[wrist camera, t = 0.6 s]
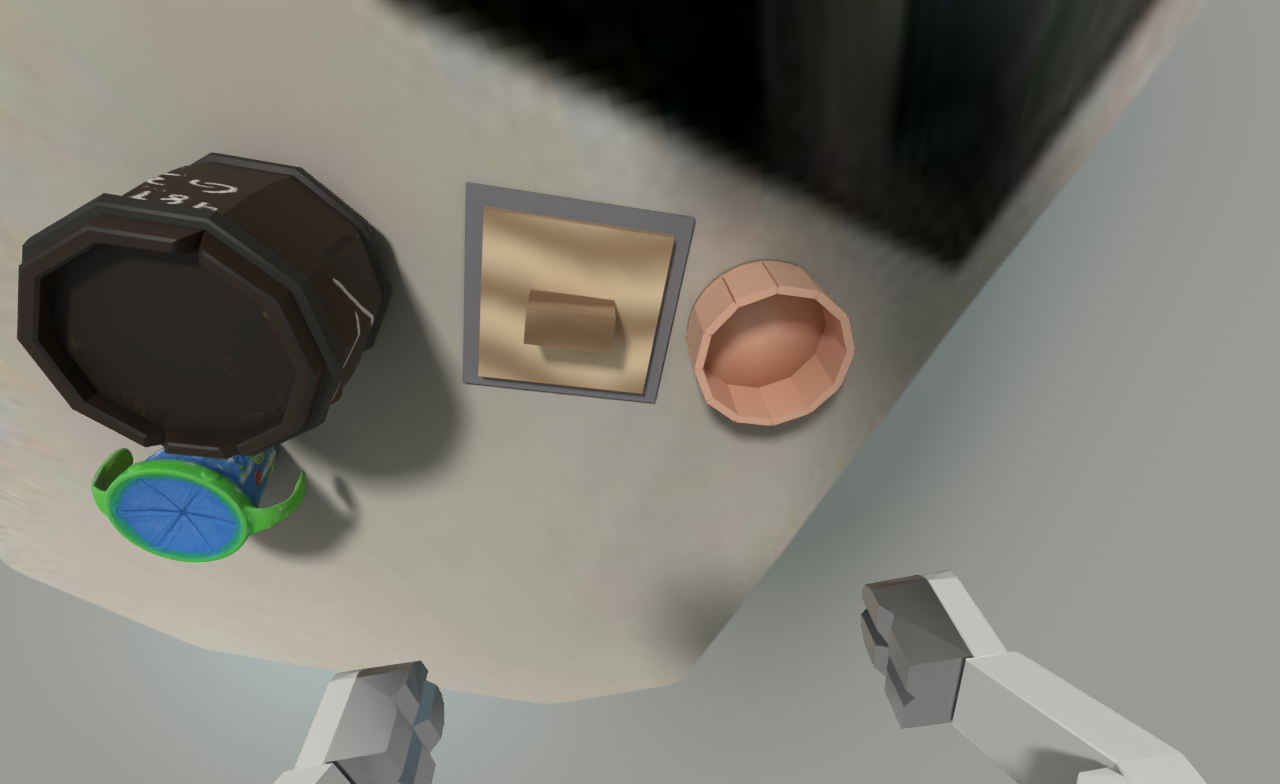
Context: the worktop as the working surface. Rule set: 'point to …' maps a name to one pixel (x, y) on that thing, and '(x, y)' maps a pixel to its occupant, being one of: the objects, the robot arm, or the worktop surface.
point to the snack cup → (190, 501)
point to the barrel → (205, 306)
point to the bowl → (768, 343)
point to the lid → (569, 300)
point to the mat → (576, 210)
